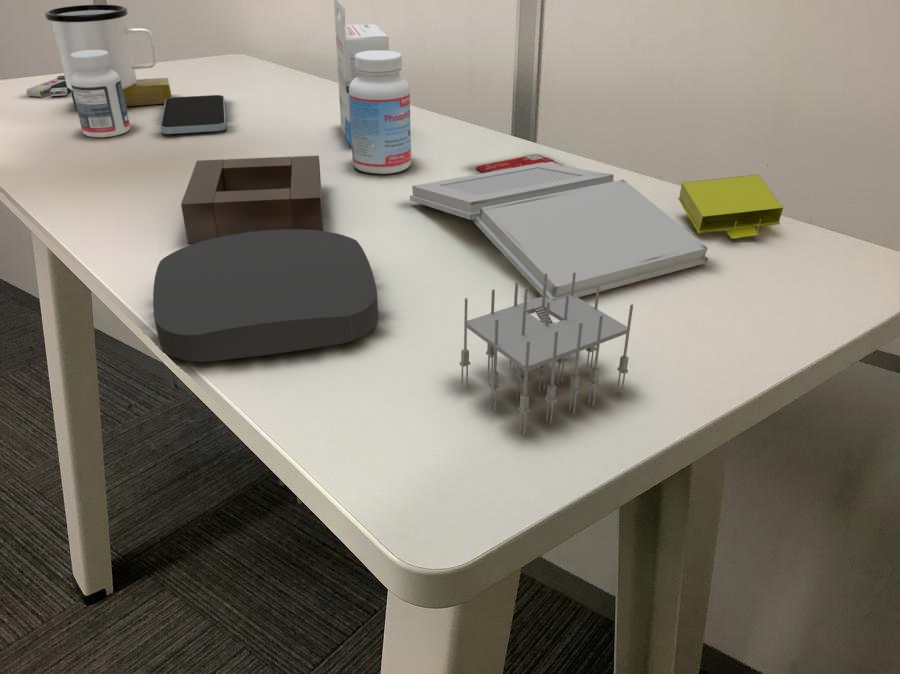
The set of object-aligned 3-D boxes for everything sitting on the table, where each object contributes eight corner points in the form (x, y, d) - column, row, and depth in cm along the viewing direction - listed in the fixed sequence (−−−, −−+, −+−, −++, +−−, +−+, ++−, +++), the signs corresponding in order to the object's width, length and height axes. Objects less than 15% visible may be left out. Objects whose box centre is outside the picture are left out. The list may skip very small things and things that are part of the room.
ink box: (394, 145, 90) (389, 5, 83) (350, 148, 89) (341, 6, 82) (380, 124, 97) (375, -6, 90) (339, 127, 96) (331, -5, 89)
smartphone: (224, 94, 106) (226, 123, 93) (225, 101, 106) (227, 131, 94) (165, 97, 104) (159, 128, 92) (166, 104, 105) (160, 135, 92)
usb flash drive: (73, 74, 115) (75, 81, 115) (34, 76, 114) (36, 84, 114) (66, 88, 108) (68, 96, 108) (23, 91, 106) (26, 99, 107)
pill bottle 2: (398, 178, 81) (395, 63, 75) (343, 171, 82) (336, 58, 77) (419, 160, 86) (418, 50, 80) (367, 154, 87) (362, 46, 82)
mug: (53, 96, 98) (33, 17, 93) (73, 78, 106) (56, 5, 101) (155, 92, 99) (140, 14, 95) (167, 75, 107) (154, 2, 103)
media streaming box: (156, 375, 49) (147, 333, 48) (165, 273, 62) (158, 237, 60) (389, 343, 53) (387, 303, 51) (354, 252, 65) (352, 218, 63)
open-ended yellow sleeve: (659, 175, 72) (655, 202, 74) (694, 235, 65) (689, 263, 67) (767, 163, 72) (760, 190, 74) (813, 221, 66) (804, 249, 68)
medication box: (77, 104, 105) (74, 111, 102) (72, 83, 104) (69, 89, 101) (172, 97, 108) (172, 103, 105) (169, 76, 107) (169, 82, 104)
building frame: (457, 384, 49) (458, 297, 46) (559, 347, 53) (566, 264, 50) (521, 437, 44) (527, 344, 41) (626, 392, 48) (639, 304, 45)
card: (564, 168, 83) (537, 156, 87) (565, 164, 83) (537, 152, 87) (500, 182, 80) (474, 169, 84) (500, 178, 80) (474, 165, 83)
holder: (187, 243, 67) (180, 203, 65) (202, 196, 76) (196, 160, 74) (323, 236, 68) (320, 196, 66) (321, 190, 78) (318, 155, 76)
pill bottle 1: (110, 123, 97) (94, 46, 93) (140, 129, 95) (125, 51, 91) (72, 133, 93) (54, 54, 89) (102, 140, 91) (85, 59, 87)
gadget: (707, 263, 63) (715, 220, 62) (551, 305, 57) (555, 259, 55) (543, 177, 81) (545, 141, 79) (409, 202, 74) (408, 164, 73)
